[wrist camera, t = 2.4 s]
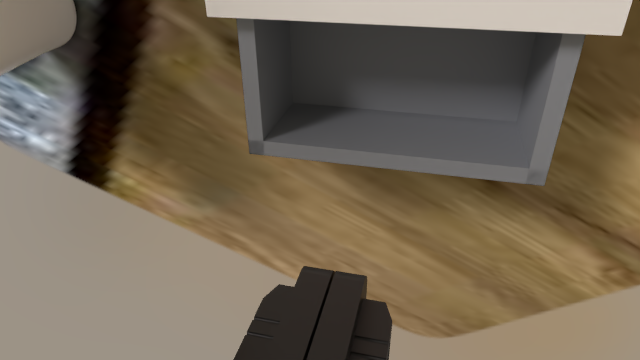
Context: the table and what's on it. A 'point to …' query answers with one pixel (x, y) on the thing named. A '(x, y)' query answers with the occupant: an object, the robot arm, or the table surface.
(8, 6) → the white cup
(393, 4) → the mailer sleeve
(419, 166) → the tray
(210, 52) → the table surface
